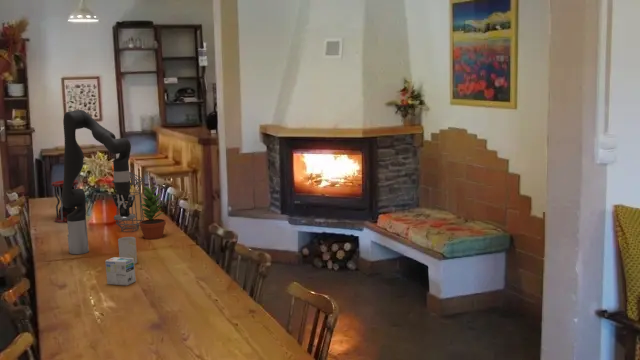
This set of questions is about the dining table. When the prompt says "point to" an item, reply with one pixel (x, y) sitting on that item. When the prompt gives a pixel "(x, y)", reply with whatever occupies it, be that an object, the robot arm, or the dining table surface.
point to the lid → (124, 215)
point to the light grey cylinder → (127, 248)
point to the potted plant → (151, 216)
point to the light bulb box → (120, 271)
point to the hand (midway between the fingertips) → (124, 215)
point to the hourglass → (62, 211)
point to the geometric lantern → (135, 203)
